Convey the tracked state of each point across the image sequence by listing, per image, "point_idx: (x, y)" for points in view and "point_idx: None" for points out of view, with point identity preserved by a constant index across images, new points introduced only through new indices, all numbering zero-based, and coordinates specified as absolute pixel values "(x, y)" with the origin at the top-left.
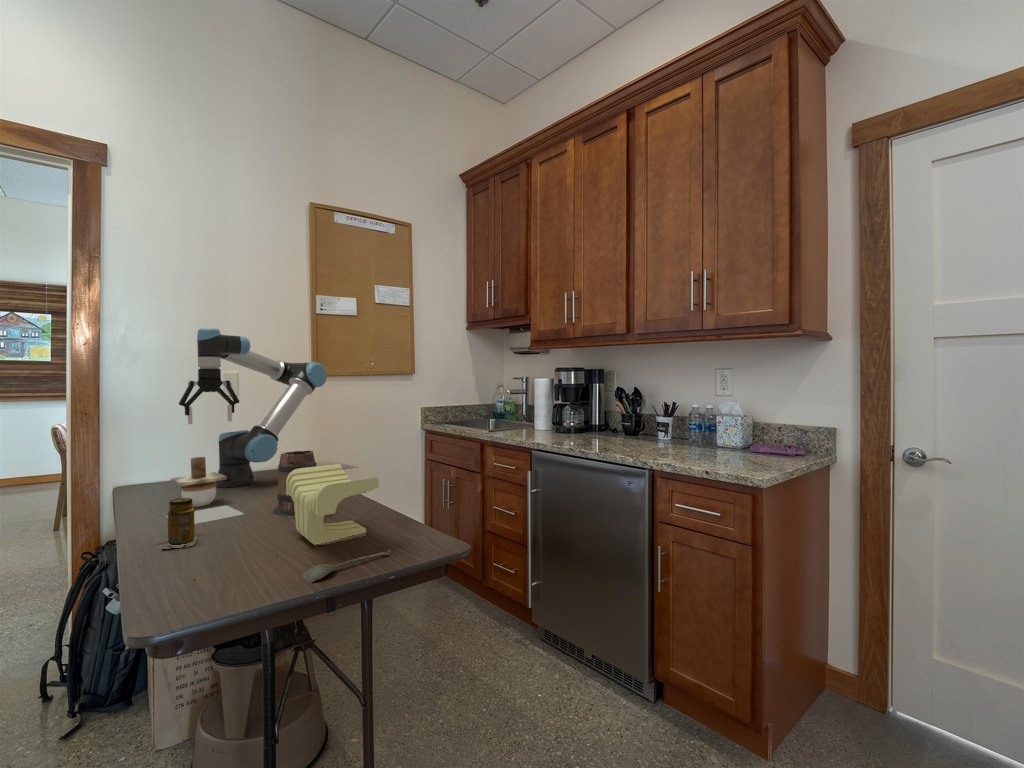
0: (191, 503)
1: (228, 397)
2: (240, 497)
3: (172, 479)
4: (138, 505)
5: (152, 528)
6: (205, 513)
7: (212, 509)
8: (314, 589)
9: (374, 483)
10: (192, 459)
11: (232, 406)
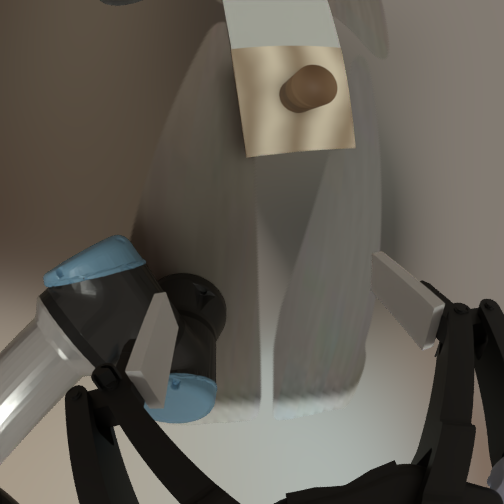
0: None
1: (134, 435)
2: (190, 140)
3: (353, 128)
4: (370, 213)
5: (355, 11)
6: (279, 21)
7: (263, 41)
8: None
9: None
10: (332, 76)
11: (125, 373)
